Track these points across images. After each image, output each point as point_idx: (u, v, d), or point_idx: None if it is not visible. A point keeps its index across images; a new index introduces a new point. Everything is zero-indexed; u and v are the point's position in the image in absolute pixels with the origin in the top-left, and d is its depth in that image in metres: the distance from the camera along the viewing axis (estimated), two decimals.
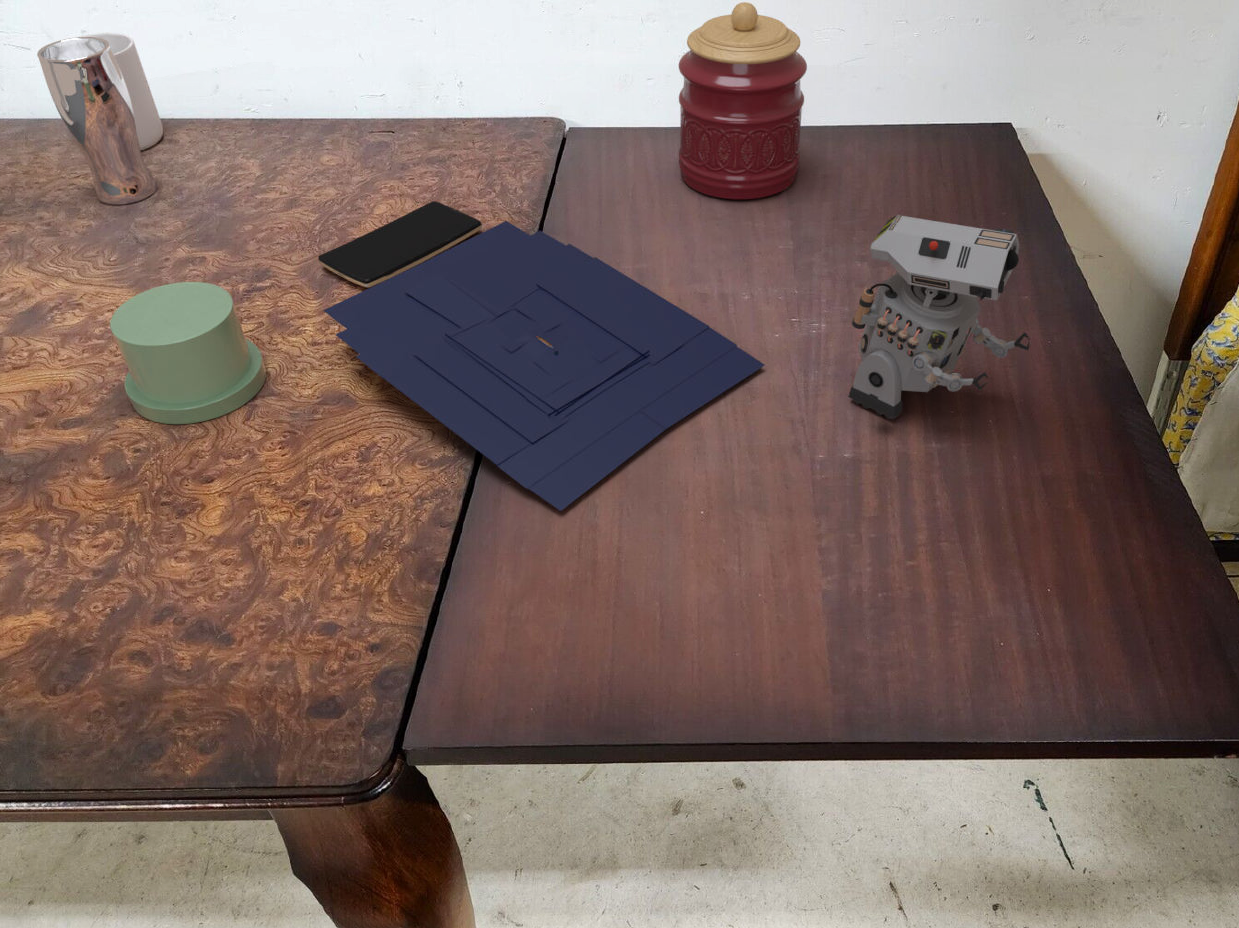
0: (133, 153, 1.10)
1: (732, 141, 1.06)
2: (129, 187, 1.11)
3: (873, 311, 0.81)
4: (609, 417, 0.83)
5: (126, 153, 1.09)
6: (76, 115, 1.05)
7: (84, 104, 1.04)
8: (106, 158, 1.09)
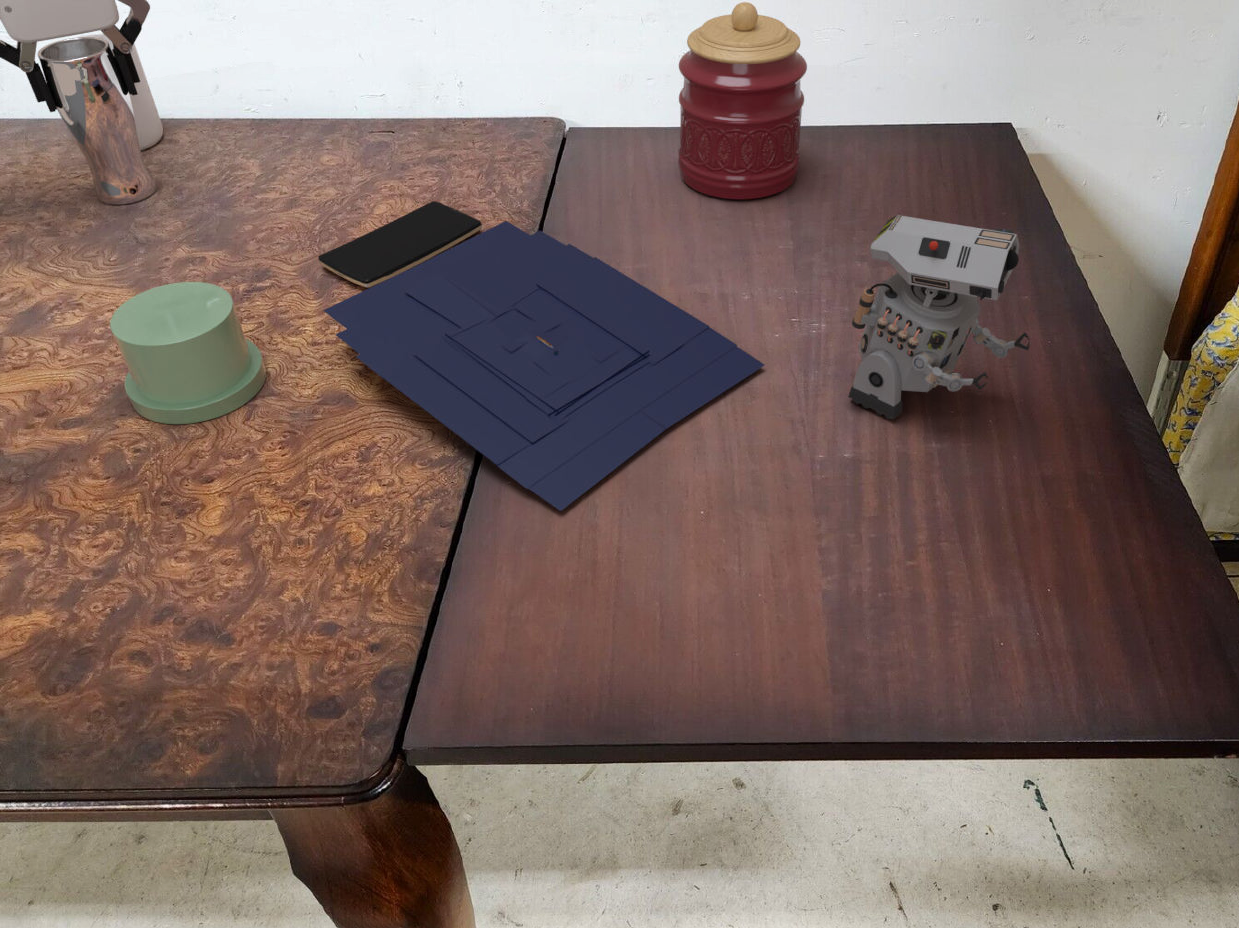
0: (133, 153, 1.10)
1: (732, 141, 1.06)
2: (129, 187, 1.11)
3: (873, 311, 0.81)
4: (609, 417, 0.83)
5: (126, 153, 1.09)
6: (76, 115, 1.05)
7: (84, 104, 1.04)
8: (106, 158, 1.09)
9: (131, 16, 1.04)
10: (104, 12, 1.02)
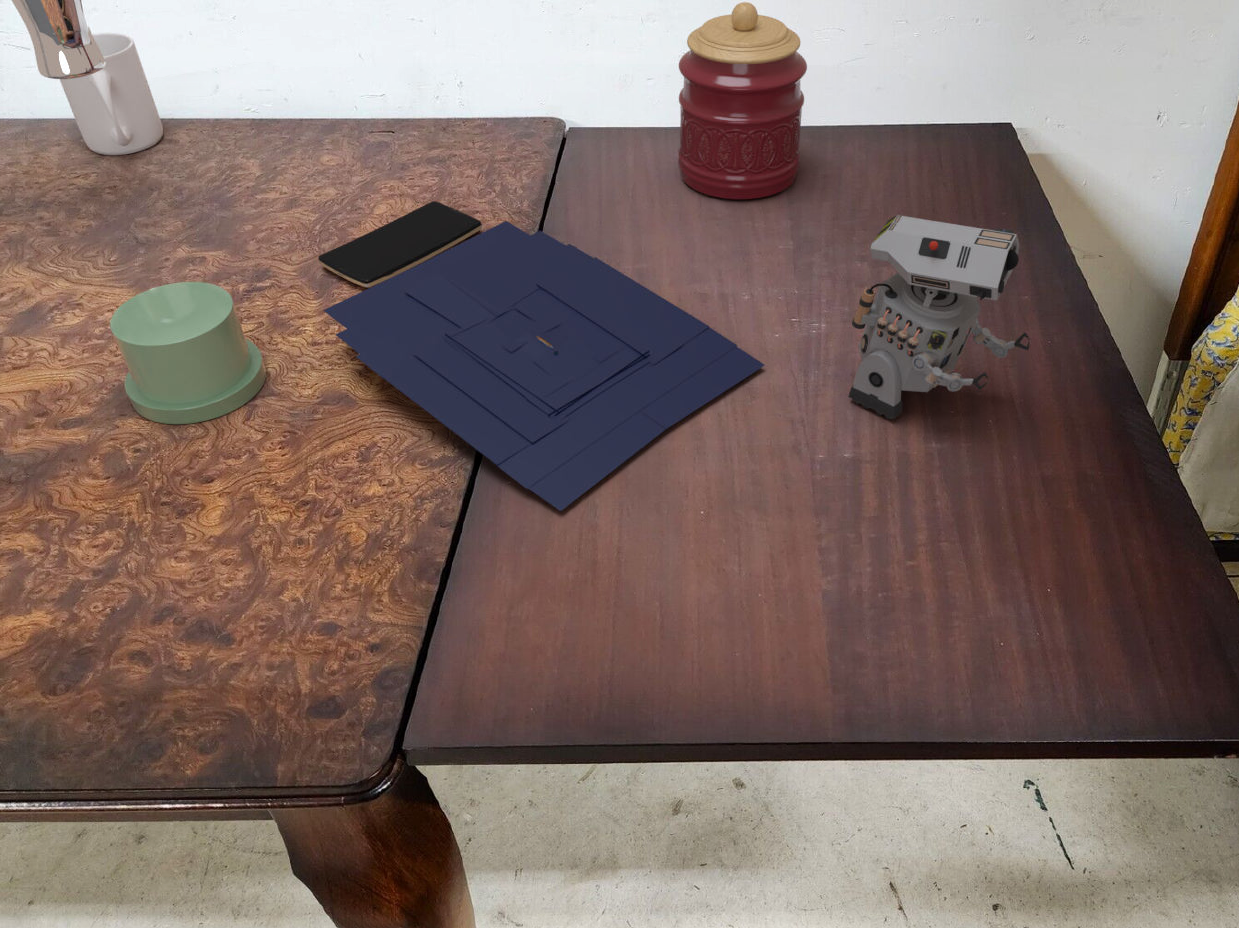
0: (79, 21, 1.01)
1: (732, 141, 1.06)
2: (74, 59, 1.02)
3: (873, 311, 0.81)
4: (609, 417, 0.83)
5: (71, 20, 1.00)
6: None
7: None
8: (48, 24, 0.99)
9: None
10: None
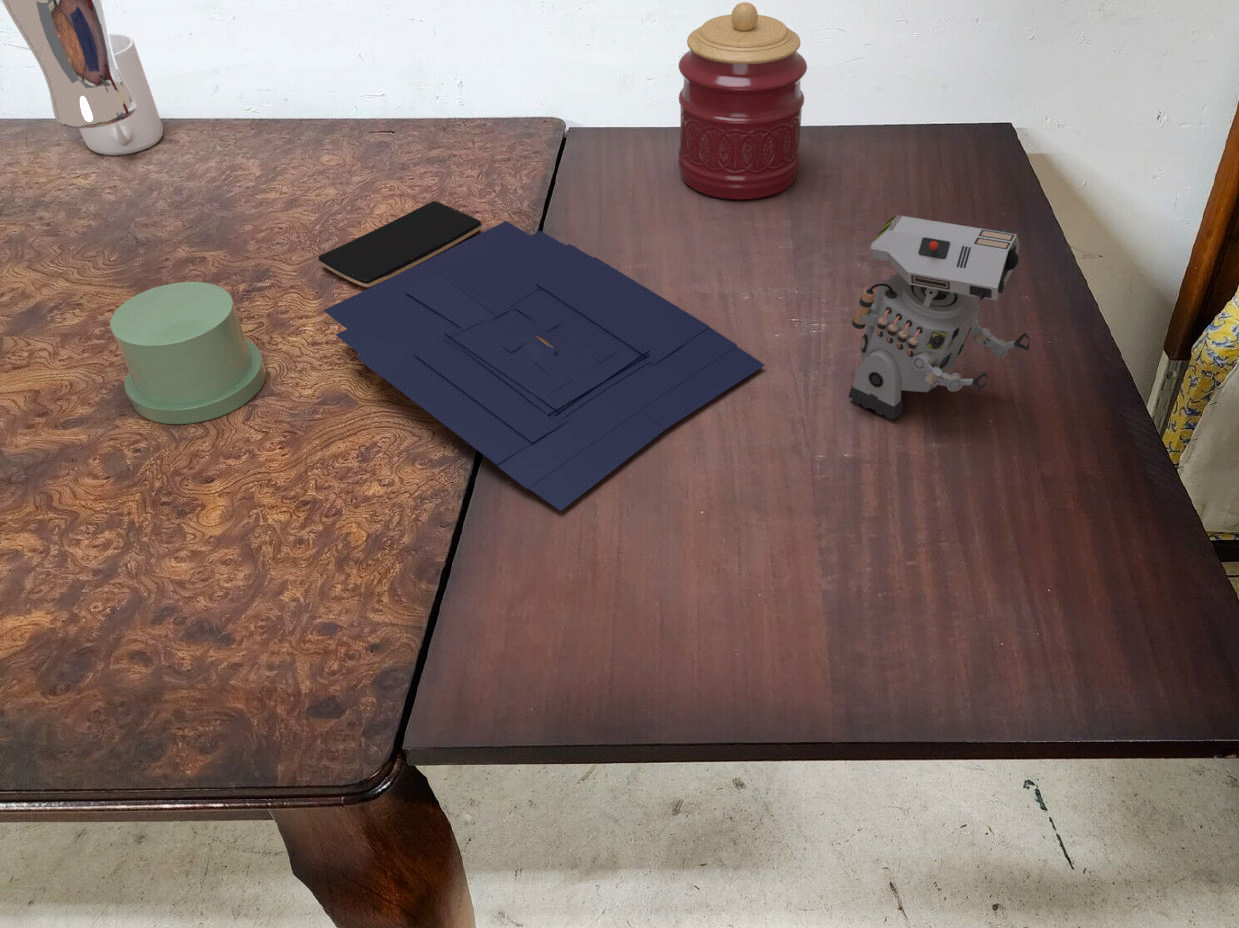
0: (104, 56, 0.82)
1: (732, 141, 1.06)
2: (99, 104, 0.83)
3: (873, 311, 0.81)
4: (609, 417, 0.83)
5: (94, 56, 0.81)
6: None
7: None
8: (67, 62, 0.80)
9: None
10: None
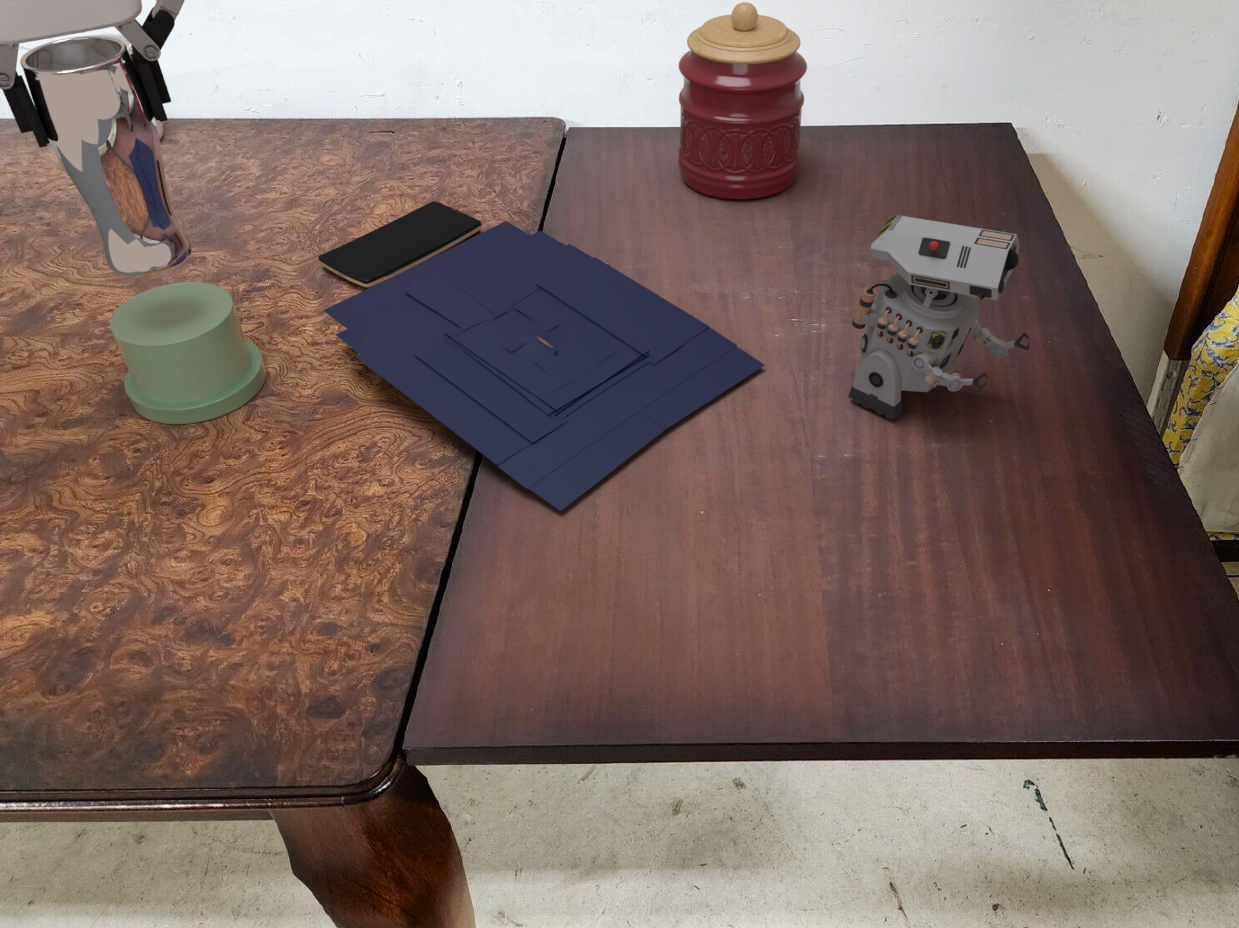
0: (160, 203, 0.76)
1: (732, 141, 1.06)
2: (154, 252, 0.77)
3: (873, 311, 0.81)
4: (609, 417, 0.83)
5: (150, 204, 0.76)
6: (78, 151, 0.71)
7: (90, 135, 0.70)
8: (121, 212, 0.75)
9: (159, 6, 0.70)
10: None
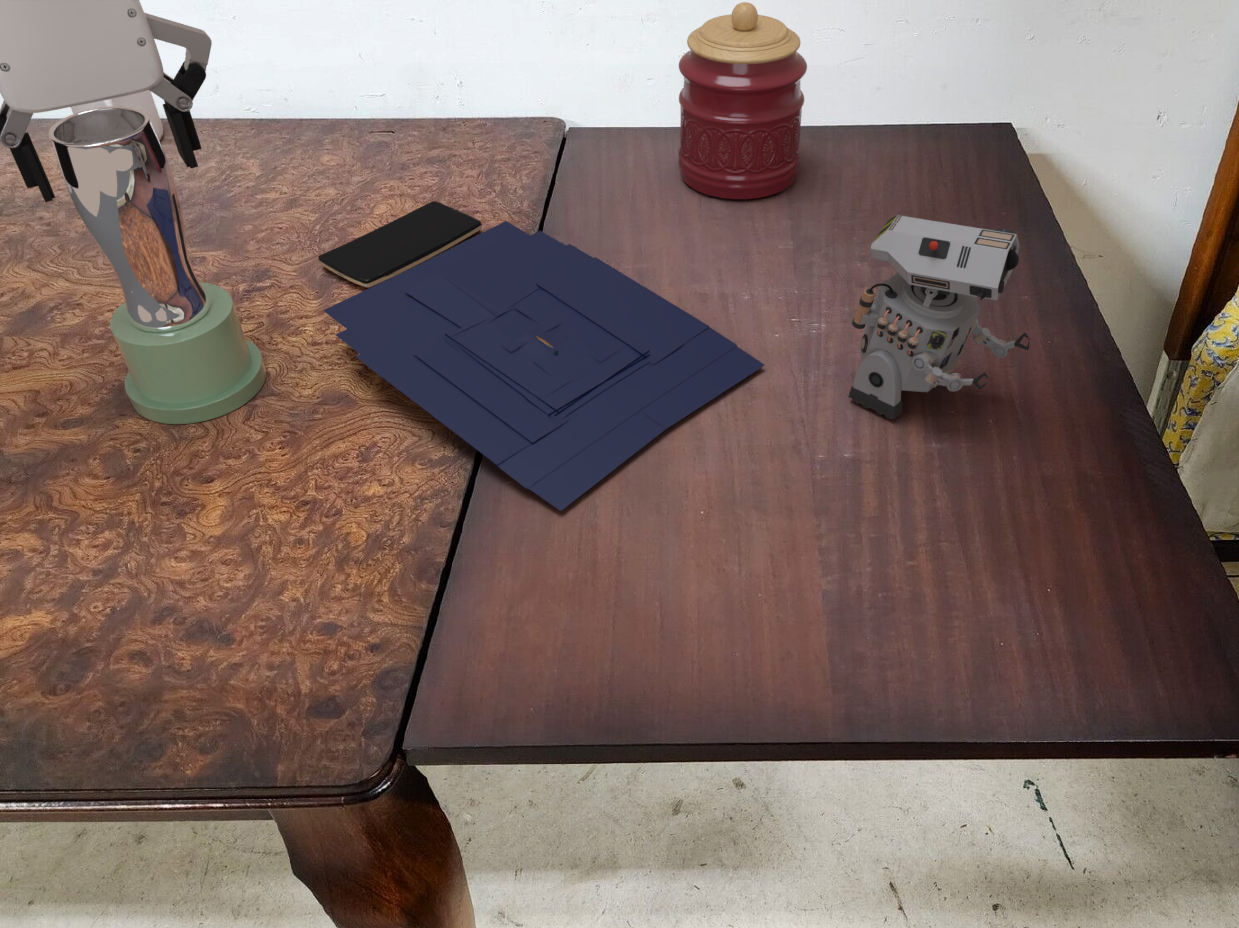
0: (181, 263, 0.80)
1: (732, 141, 1.06)
2: (174, 309, 0.81)
3: (873, 311, 0.81)
4: (609, 417, 0.83)
5: (171, 264, 0.79)
6: (103, 218, 0.74)
7: (115, 203, 0.74)
8: (144, 272, 0.78)
9: (189, 60, 0.73)
10: (143, 68, 0.71)
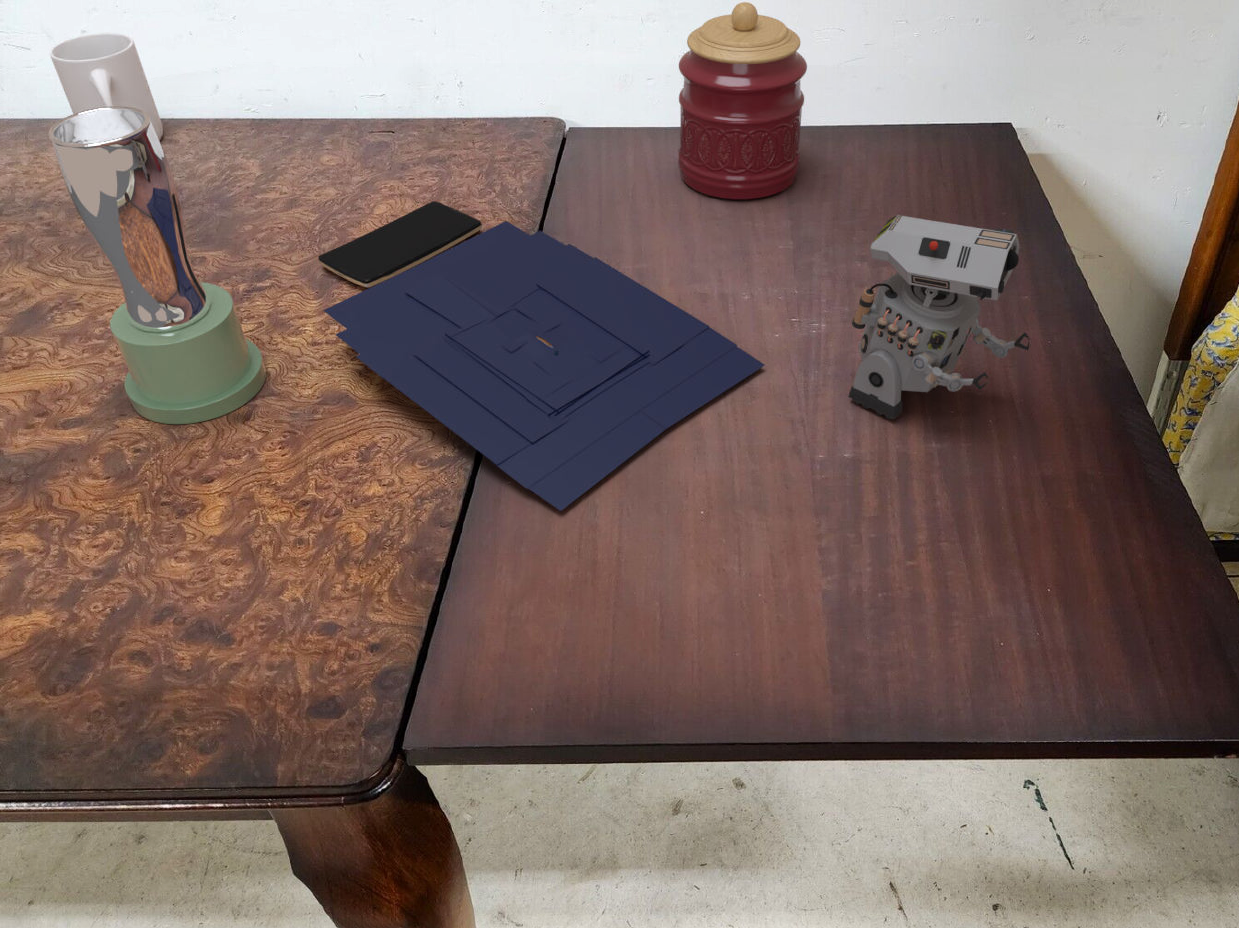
0: (181, 263, 0.80)
1: (732, 141, 1.06)
2: (174, 309, 0.81)
3: (873, 311, 0.81)
4: (609, 417, 0.83)
5: (171, 264, 0.79)
6: (103, 218, 0.74)
7: (115, 203, 0.74)
8: (144, 272, 0.78)
9: None
10: None
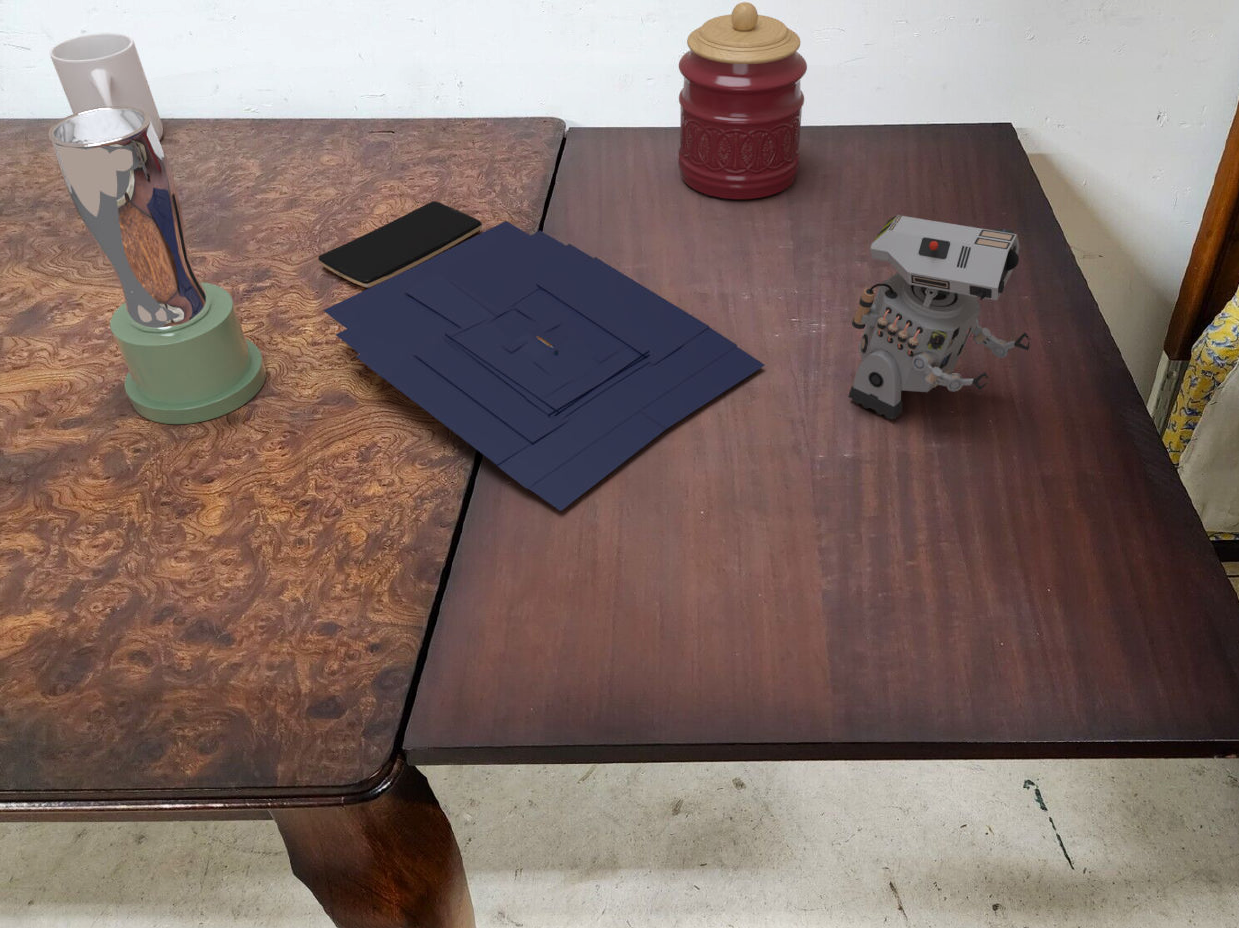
0: (181, 263, 0.80)
1: (732, 141, 1.06)
2: (174, 309, 0.81)
3: (873, 311, 0.81)
4: (609, 417, 0.83)
5: (171, 264, 0.79)
6: (103, 218, 0.74)
7: (115, 203, 0.74)
8: (144, 272, 0.78)
9: None
10: None
